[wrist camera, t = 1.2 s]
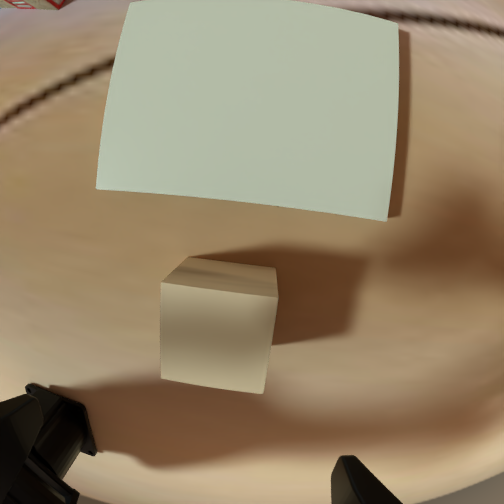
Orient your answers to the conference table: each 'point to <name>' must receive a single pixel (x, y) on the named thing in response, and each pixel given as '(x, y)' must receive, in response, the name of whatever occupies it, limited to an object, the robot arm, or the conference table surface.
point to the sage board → (254, 105)
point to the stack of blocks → (32, 4)
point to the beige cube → (218, 324)
